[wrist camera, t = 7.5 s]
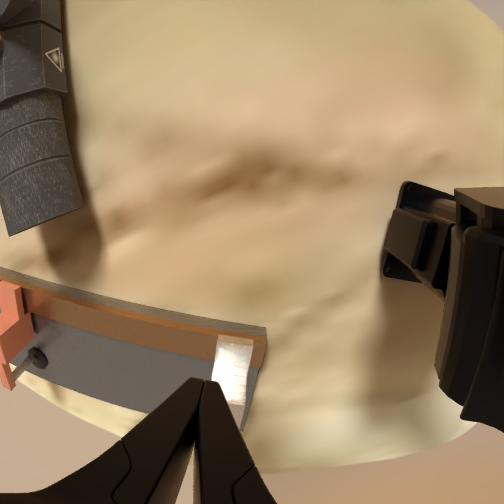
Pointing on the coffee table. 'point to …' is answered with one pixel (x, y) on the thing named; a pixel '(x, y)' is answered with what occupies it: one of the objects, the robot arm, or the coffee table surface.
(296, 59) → the coffee table surface
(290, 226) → the coffee table surface
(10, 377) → the block
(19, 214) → the laser sight
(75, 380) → the plate
